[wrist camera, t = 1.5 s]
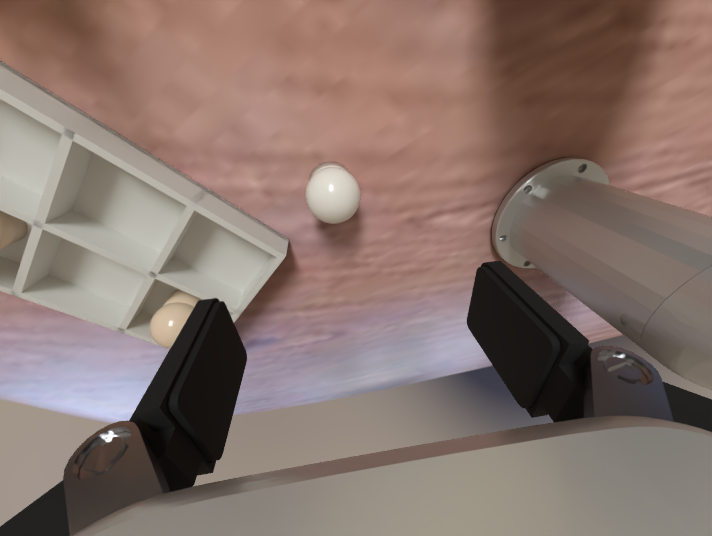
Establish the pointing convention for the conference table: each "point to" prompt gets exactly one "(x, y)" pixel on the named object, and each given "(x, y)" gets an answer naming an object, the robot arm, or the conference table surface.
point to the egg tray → (114, 220)
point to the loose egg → (332, 193)
